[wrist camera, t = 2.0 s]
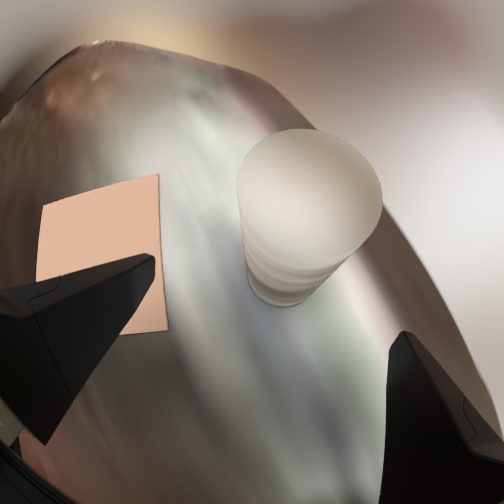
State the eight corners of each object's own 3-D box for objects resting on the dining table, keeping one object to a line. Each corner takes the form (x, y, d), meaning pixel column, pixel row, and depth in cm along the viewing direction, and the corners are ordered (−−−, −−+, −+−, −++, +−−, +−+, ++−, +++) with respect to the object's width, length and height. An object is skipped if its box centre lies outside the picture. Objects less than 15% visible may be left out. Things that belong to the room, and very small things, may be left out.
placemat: (168, 330, 19) (167, 329, 19) (39, 338, 19) (37, 338, 19) (158, 175, 23) (157, 173, 23) (45, 207, 23) (43, 205, 23)
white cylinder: (278, 322, 19) (309, 291, 8) (233, 268, 21) (206, 175, 9) (330, 276, 20) (407, 198, 9) (285, 227, 22) (311, 111, 10)
